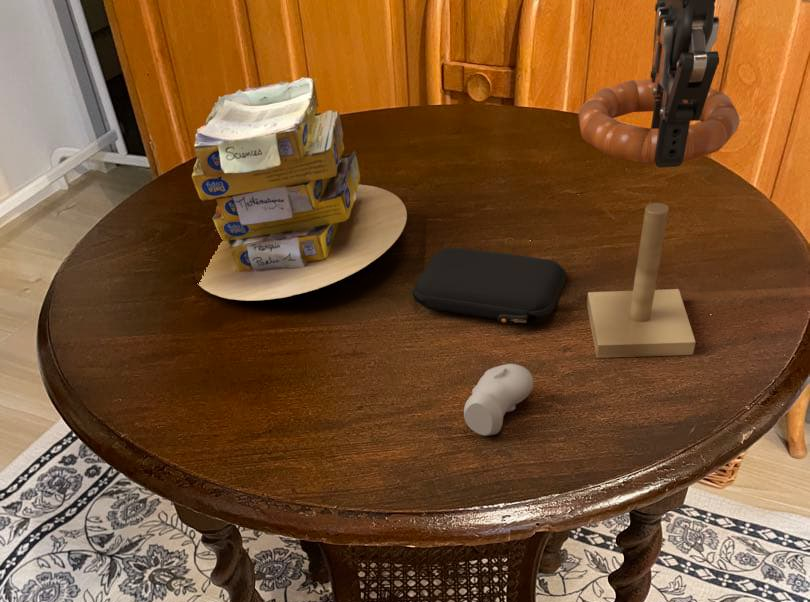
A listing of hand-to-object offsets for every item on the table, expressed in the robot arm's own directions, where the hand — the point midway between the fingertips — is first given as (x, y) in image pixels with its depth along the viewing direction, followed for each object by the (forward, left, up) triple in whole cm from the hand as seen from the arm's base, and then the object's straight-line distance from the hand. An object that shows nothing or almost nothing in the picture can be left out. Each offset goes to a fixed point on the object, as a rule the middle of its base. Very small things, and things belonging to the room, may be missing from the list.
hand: (664, 155), depth 71 cm
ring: (0, -5, +1) cm, 5 cm away
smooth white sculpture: (+14, +12, -17) cm, 25 cm away
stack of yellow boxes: (+35, -17, -17) cm, 43 cm away
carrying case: (+14, -6, -17) cm, 23 cm away
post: (0, 0, -17) cm, 17 cm away
